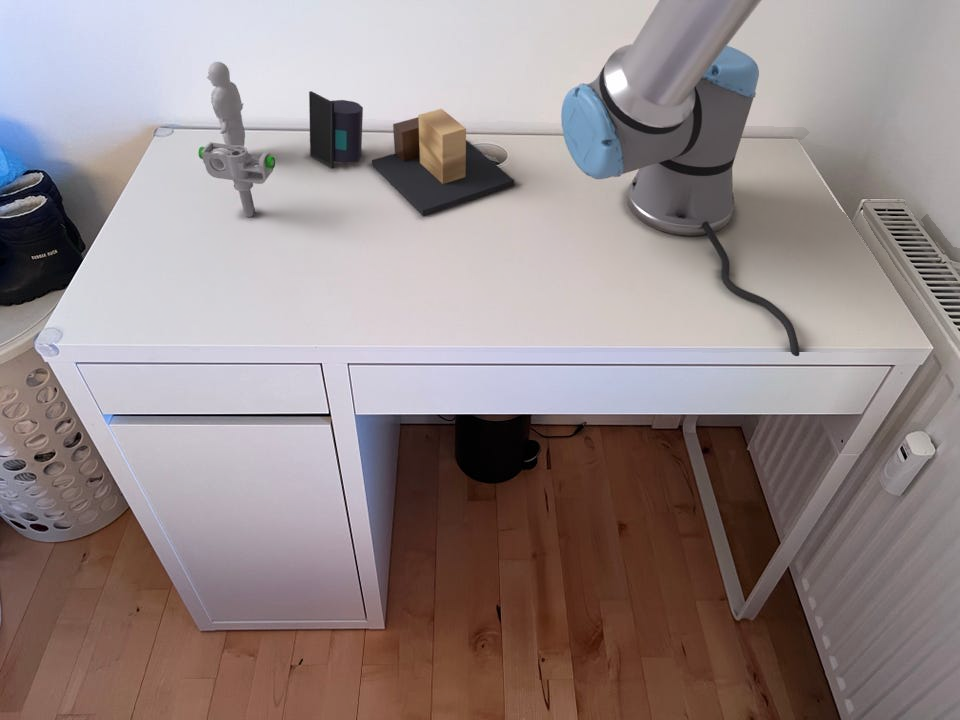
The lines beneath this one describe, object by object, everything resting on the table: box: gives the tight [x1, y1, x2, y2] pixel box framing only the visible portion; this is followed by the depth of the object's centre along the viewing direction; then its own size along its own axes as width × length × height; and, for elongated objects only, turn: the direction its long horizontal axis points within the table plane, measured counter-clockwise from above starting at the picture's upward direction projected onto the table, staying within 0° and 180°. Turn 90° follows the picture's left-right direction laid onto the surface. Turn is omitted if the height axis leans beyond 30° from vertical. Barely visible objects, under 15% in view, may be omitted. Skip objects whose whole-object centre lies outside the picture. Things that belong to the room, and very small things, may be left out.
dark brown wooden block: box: [392, 116, 420, 162], centre depth 116 cm, size 4×8×5 cm, turn 123°
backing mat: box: [371, 139, 515, 217], centre depth 115 cm, size 16×16×1 cm
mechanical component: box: [198, 141, 277, 218], centre depth 103 cm, size 3×10×10 cm, turn 78°
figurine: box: [206, 61, 246, 147], centre depth 112 cm, size 9×4×15 cm, turn 174°
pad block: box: [417, 108, 467, 184], centre depth 111 cm, size 7×4×8 cm, turn 33°
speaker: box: [308, 90, 364, 170], centre depth 114 cm, size 8×6×10 cm
